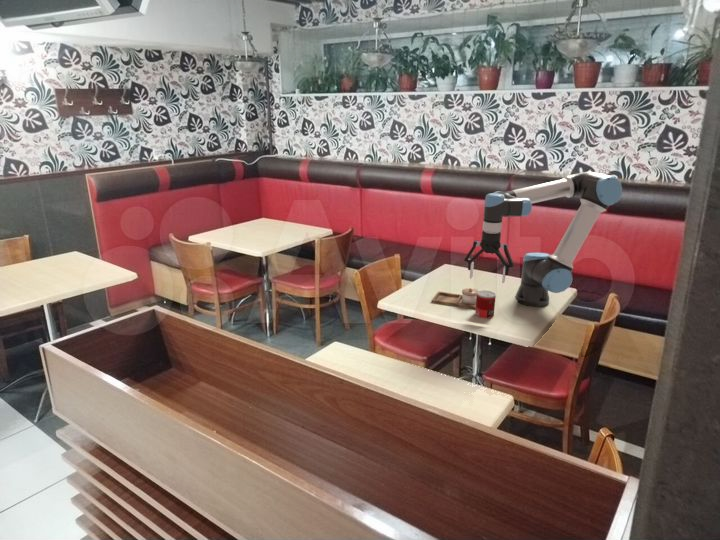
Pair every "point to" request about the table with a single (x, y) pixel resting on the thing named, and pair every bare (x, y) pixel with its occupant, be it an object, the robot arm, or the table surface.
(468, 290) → the sugar pot
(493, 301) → the canned food
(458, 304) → the wooden tray
